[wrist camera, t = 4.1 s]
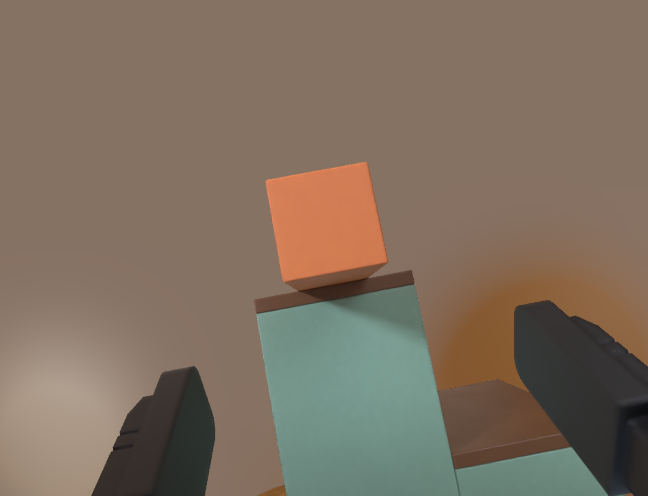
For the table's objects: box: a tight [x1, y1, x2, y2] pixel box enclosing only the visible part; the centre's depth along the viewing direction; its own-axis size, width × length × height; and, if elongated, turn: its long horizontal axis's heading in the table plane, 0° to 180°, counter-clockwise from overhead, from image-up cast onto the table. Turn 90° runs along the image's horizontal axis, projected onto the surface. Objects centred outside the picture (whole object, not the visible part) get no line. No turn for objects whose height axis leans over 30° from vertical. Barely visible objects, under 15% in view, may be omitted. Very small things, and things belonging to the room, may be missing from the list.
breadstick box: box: [266, 162, 388, 291], centre depth 28 cm, size 22×4×4 cm, turn 0°
